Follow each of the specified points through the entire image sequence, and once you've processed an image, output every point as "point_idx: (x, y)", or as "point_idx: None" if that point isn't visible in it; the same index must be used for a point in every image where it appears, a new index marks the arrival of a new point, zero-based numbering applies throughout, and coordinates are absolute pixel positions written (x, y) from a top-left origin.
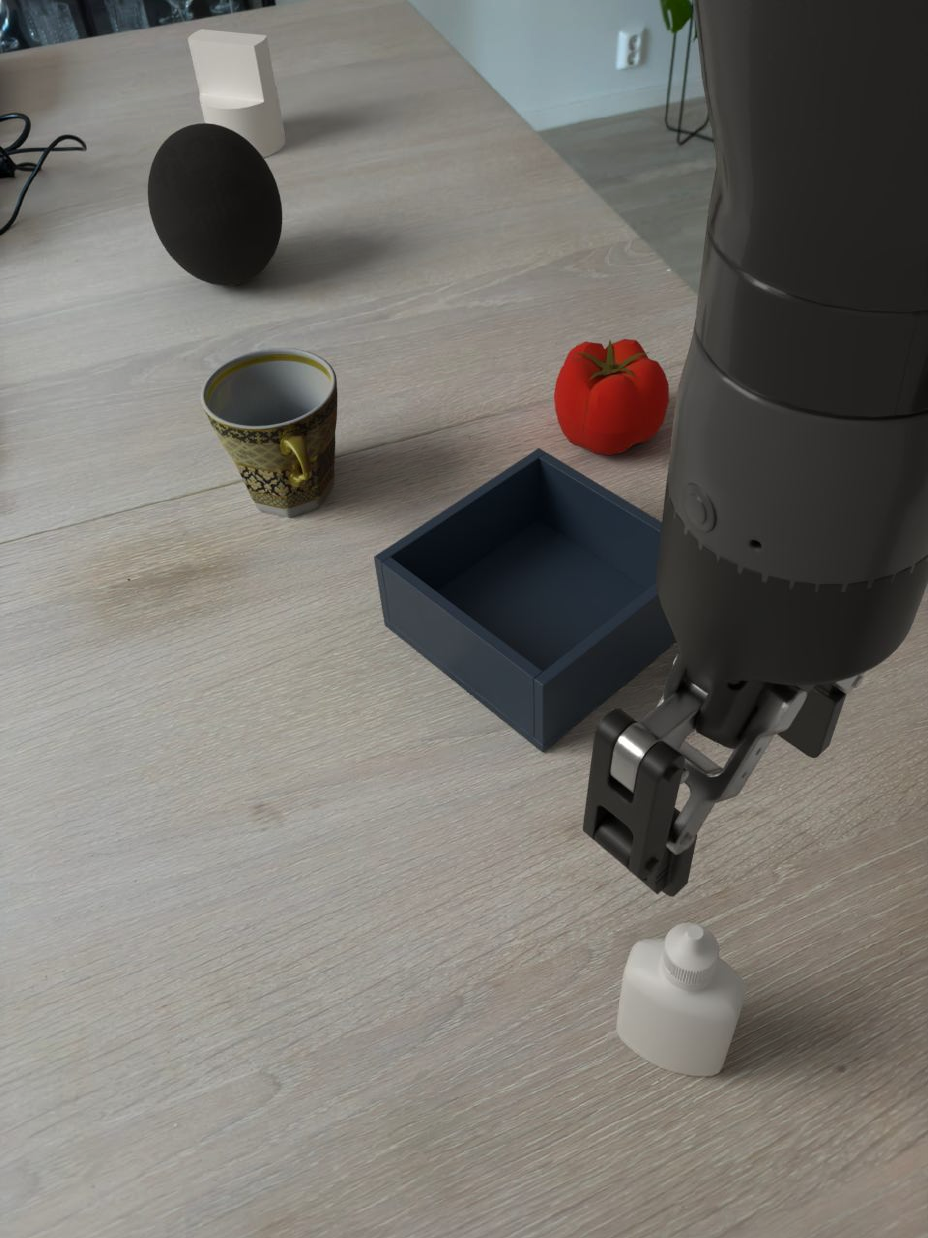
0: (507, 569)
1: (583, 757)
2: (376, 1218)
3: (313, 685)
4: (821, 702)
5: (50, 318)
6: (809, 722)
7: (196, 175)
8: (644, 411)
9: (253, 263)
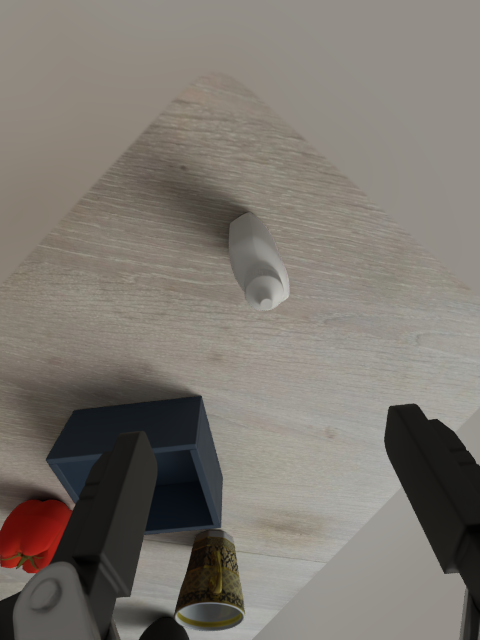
0: None
1: (184, 384)
2: (433, 262)
3: (270, 468)
4: (113, 545)
5: (247, 626)
6: (132, 493)
7: None
8: (24, 525)
9: (159, 633)
